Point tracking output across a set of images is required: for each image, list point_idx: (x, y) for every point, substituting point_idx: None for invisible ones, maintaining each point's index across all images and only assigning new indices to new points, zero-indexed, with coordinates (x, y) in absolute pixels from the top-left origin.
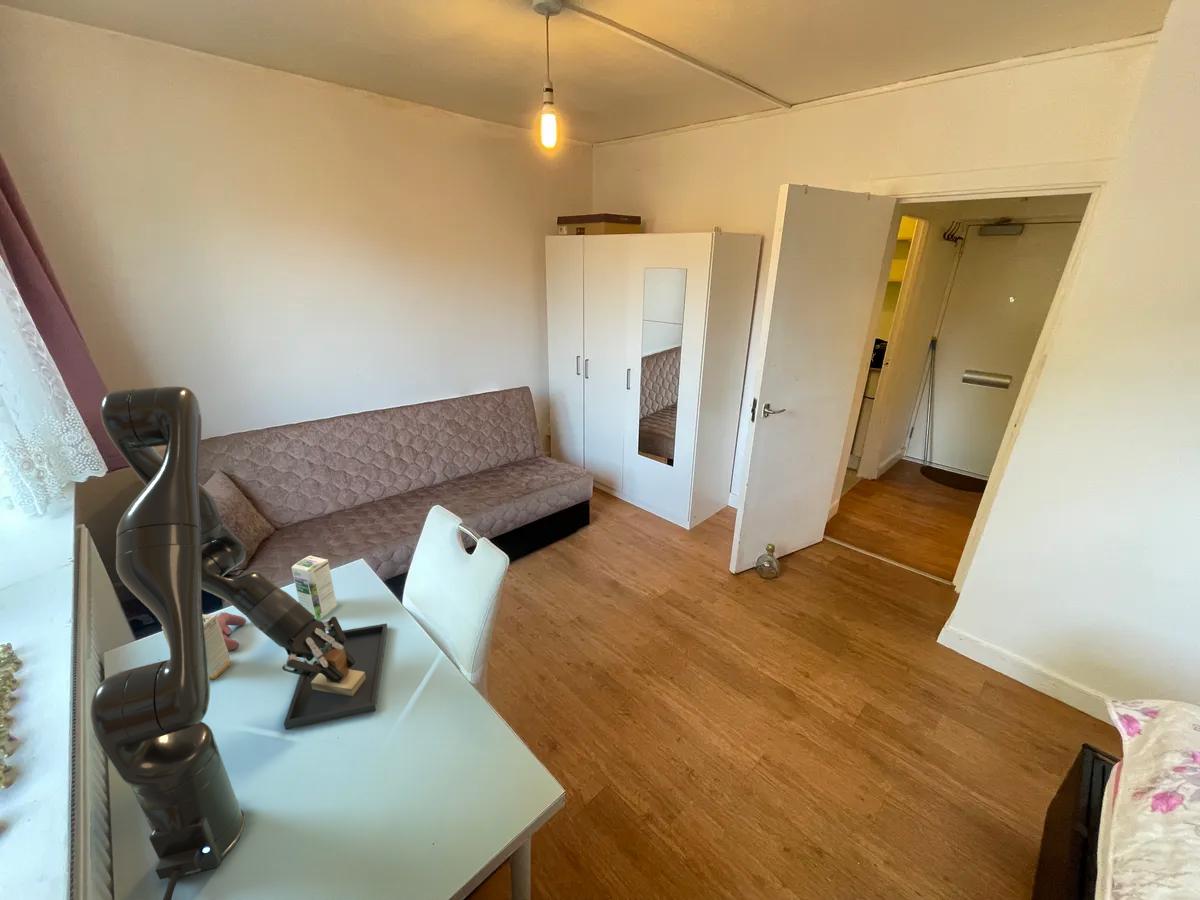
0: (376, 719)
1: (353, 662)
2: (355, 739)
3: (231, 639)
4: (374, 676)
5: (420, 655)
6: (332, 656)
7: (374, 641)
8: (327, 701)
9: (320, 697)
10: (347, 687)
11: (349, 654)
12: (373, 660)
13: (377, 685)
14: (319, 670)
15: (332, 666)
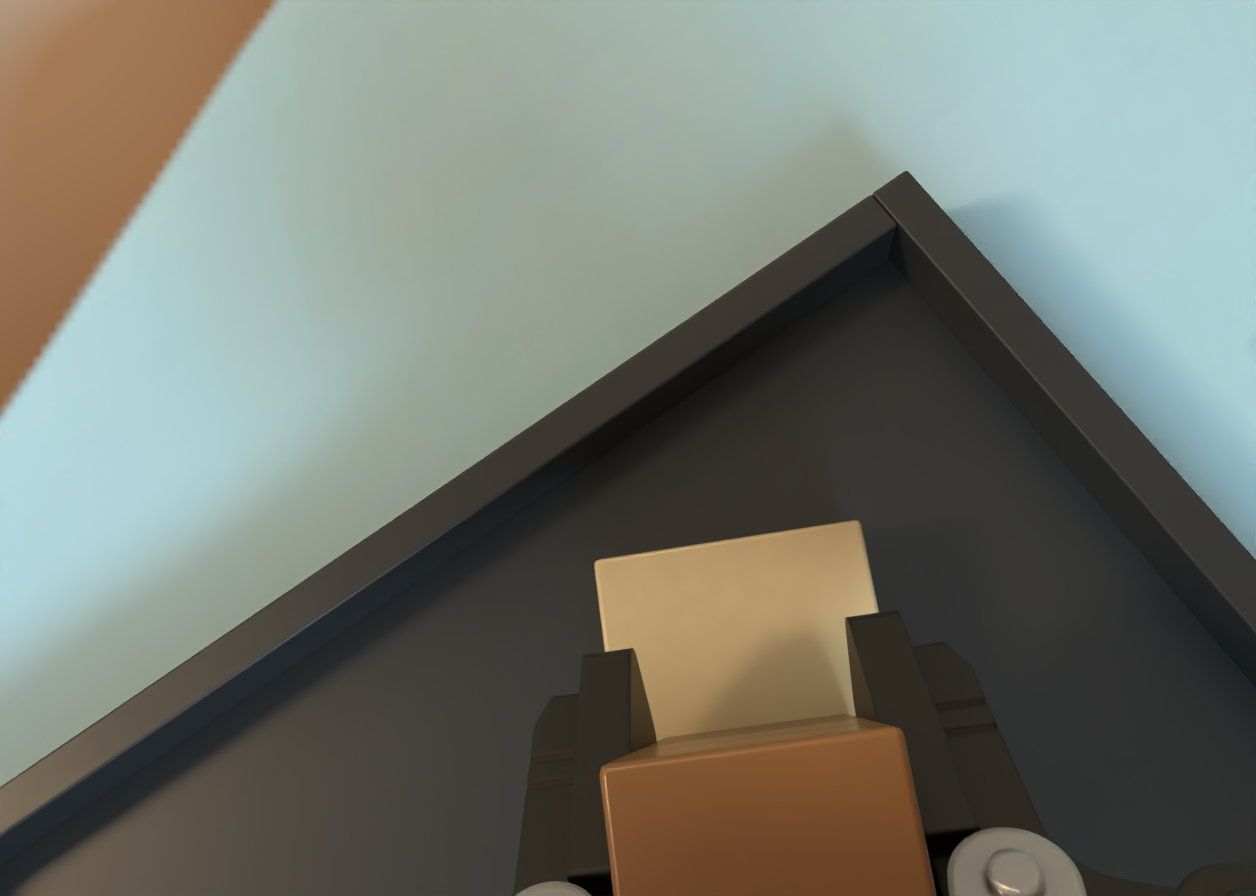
0: (946, 173)
1: (610, 654)
2: (1194, 189)
3: None
4: (557, 511)
5: (196, 307)
6: (821, 881)
7: (115, 892)
8: (1014, 758)
9: None
10: (856, 581)
11: (534, 781)
12: (370, 688)
13: (690, 319)
14: (1202, 871)
15: (915, 782)
